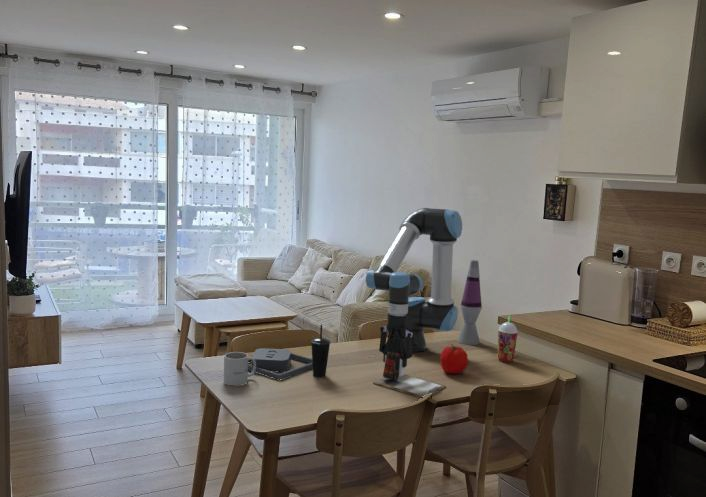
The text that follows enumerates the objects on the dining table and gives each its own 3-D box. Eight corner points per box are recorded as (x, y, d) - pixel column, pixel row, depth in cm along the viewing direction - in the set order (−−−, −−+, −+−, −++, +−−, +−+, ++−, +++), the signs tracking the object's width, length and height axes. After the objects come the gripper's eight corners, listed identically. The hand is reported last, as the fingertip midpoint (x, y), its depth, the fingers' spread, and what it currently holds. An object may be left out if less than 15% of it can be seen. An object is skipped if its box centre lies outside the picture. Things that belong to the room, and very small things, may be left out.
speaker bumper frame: (235, 366, 229) (235, 361, 229) (277, 353, 248) (277, 348, 248) (279, 380, 215) (279, 375, 215) (319, 365, 234) (319, 361, 234)
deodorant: (381, 375, 221) (389, 336, 223) (396, 378, 222) (404, 339, 223) (383, 377, 216) (390, 338, 217) (399, 380, 216) (406, 341, 217)
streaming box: (256, 360, 239) (256, 348, 238) (291, 361, 239) (291, 349, 238) (250, 371, 224) (250, 358, 224) (287, 373, 224) (287, 360, 224)
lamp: (457, 343, 276) (463, 261, 271) (457, 337, 286) (462, 258, 281) (480, 345, 274) (486, 262, 269) (479, 339, 285) (485, 259, 280)
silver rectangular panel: (373, 383, 217) (373, 380, 217) (395, 373, 230) (396, 369, 230) (424, 399, 204) (425, 395, 204) (445, 387, 217) (445, 383, 217)
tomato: (450, 366, 242) (451, 340, 241) (473, 373, 234) (475, 346, 233) (432, 371, 234) (434, 345, 232) (455, 379, 226) (457, 352, 224)
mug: (227, 387, 206) (227, 360, 205) (221, 379, 214) (221, 353, 213) (260, 383, 212) (261, 356, 211) (253, 375, 219) (254, 350, 218)
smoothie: (513, 358, 257) (517, 314, 254) (516, 364, 248) (520, 319, 246) (494, 357, 257) (497, 313, 255) (497, 363, 249) (500, 317, 247)
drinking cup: (332, 373, 225) (334, 323, 223) (324, 380, 218) (327, 328, 216) (314, 370, 228) (316, 321, 225) (306, 376, 221) (308, 325, 218)
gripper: (371, 311, 220) (368, 369, 223) (414, 320, 209) (410, 381, 212) (382, 307, 226) (379, 364, 229) (424, 316, 215) (420, 376, 218)
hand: (394, 372), depth 221 cm, fingers closed on deodorant, 6 cm apart
